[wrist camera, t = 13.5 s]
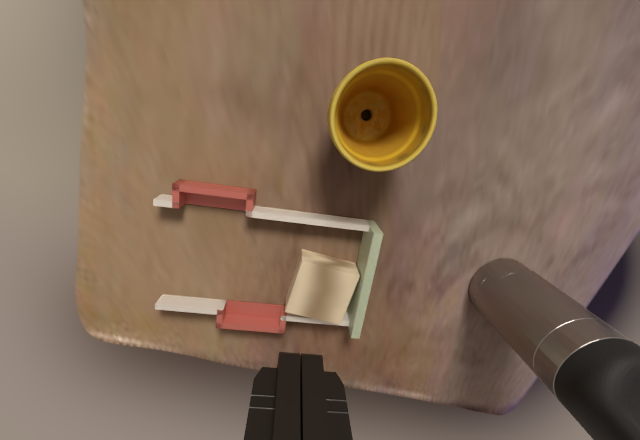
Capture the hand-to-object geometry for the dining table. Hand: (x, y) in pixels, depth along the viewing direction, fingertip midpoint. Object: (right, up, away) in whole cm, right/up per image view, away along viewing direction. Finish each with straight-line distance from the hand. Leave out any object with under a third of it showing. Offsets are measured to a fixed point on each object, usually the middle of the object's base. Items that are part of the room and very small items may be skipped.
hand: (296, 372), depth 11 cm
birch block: (+1, -3, +35) cm, 36 cm away
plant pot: (+6, +18, +28) cm, 34 cm away
